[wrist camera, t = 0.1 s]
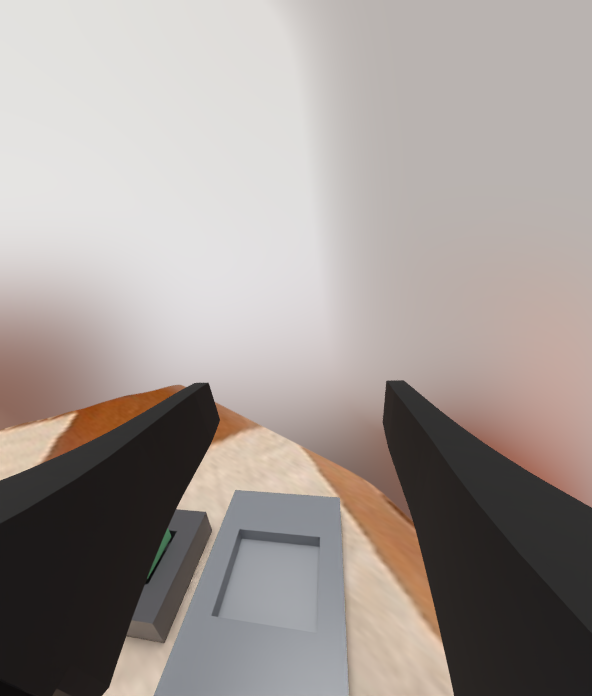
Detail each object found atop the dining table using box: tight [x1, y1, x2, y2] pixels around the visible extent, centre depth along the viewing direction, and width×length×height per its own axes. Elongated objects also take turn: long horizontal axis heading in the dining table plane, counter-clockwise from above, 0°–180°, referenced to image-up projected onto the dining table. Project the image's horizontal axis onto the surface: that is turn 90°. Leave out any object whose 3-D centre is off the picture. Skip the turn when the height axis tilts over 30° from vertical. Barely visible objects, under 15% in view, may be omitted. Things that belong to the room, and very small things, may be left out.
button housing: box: [126, 509, 212, 643], centre depth 22 cm, size 8×8×3 cm
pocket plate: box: [154, 490, 349, 696], centre depth 20 cm, size 14×12×2 cm
